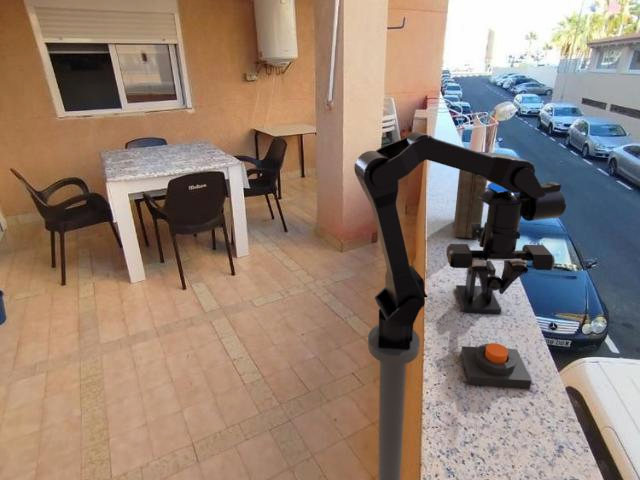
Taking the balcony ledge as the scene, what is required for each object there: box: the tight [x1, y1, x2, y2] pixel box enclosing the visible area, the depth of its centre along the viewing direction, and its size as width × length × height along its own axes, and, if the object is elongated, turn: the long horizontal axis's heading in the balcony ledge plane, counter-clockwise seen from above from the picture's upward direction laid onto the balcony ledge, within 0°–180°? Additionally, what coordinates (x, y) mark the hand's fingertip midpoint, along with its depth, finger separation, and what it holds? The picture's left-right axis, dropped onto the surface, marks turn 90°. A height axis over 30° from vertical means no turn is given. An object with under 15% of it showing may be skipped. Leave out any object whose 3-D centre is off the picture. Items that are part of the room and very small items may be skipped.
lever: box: [476, 273, 502, 292], centre depth 81 cm, size 13×3×3 cm, turn 171°
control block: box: [460, 343, 532, 390], centre depth 68 cm, size 10×8×4 cm
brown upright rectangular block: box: [453, 151, 488, 239], centre depth 123 cm, size 19×8×25 cm, turn 161°
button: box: [485, 342, 508, 364], centre depth 67 cm, size 4×4×2 cm
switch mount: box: [455, 260, 502, 315], centre depth 87 cm, size 10×8×10 cm
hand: (492, 292), depth 77 cm, fingers closed on lever, 3 cm apart
